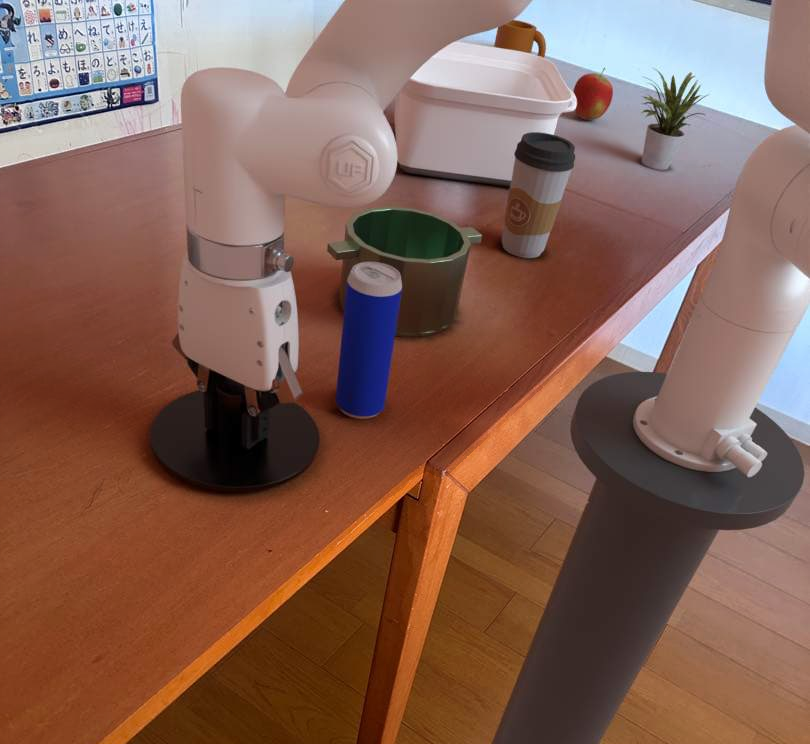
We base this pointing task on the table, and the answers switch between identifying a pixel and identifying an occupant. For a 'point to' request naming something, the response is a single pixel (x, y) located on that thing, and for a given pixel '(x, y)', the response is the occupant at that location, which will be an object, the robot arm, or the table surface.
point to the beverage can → (367, 338)
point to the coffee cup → (536, 192)
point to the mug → (520, 37)
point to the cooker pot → (411, 262)
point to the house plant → (667, 123)
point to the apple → (592, 96)
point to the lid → (232, 442)
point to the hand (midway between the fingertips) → (236, 430)
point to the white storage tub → (476, 111)
